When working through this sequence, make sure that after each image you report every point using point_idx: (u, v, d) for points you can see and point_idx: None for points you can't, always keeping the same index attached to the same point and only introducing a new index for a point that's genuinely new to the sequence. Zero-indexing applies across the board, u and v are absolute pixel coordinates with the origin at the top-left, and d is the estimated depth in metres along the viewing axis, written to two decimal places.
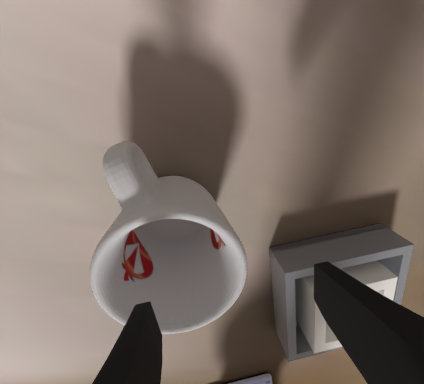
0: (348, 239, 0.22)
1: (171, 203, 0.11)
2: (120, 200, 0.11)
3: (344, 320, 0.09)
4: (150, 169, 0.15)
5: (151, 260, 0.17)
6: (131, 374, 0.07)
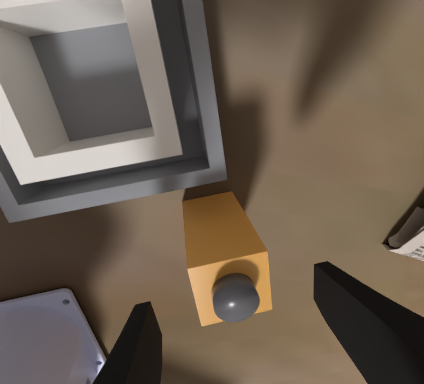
0: None
1: None
2: None
3: (344, 319, 0.09)
4: None
5: None
6: (131, 374, 0.07)
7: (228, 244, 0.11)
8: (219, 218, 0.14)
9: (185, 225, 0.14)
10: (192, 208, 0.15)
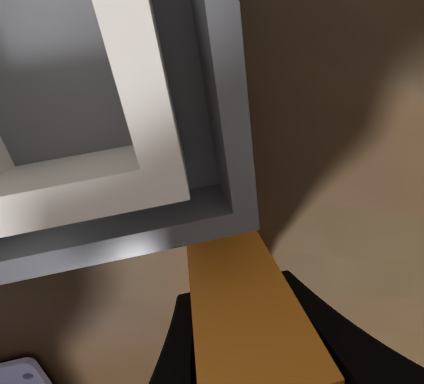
0: None
1: None
2: None
3: None
4: None
5: None
6: (191, 359, 0.07)
7: (268, 349, 0.07)
8: (244, 283, 0.09)
9: (192, 294, 0.09)
10: (201, 258, 0.11)
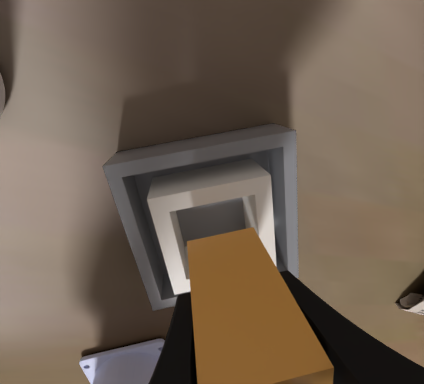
0: (219, 136, 0.16)
1: None
2: None
3: None
4: None
5: None
6: (191, 359, 0.07)
7: (263, 340, 0.07)
8: (242, 280, 0.09)
9: (192, 290, 0.09)
10: (201, 256, 0.11)
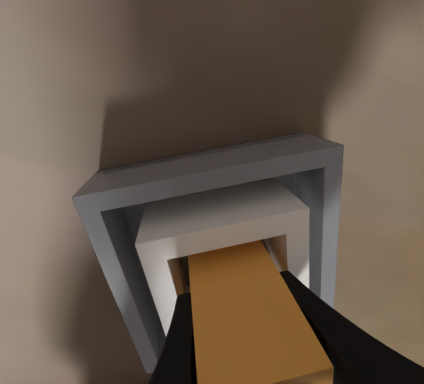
0: (234, 151, 0.12)
1: None
2: None
3: None
4: None
5: None
6: (191, 359, 0.07)
7: (263, 340, 0.07)
8: (242, 280, 0.09)
9: (192, 290, 0.09)
10: (201, 256, 0.11)
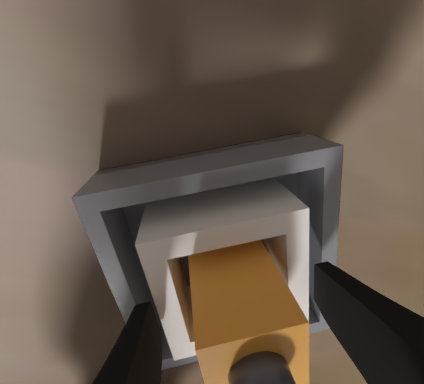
0: (234, 151, 0.12)
1: None
2: None
3: (344, 319, 0.09)
4: None
5: None
6: (131, 374, 0.07)
7: (250, 304, 0.08)
8: (234, 258, 0.11)
9: (190, 267, 0.10)
10: None
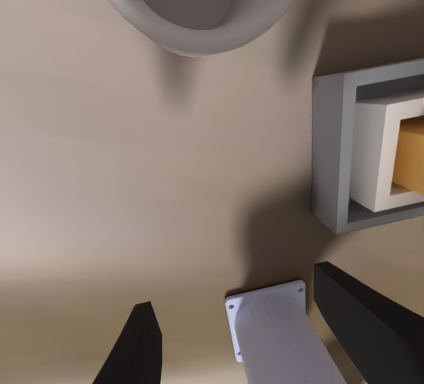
0: (419, 58, 0.16)
1: None
2: None
3: (344, 319, 0.09)
4: None
5: None
6: (131, 374, 0.07)
7: None
8: None
9: (406, 131, 0.15)
10: None
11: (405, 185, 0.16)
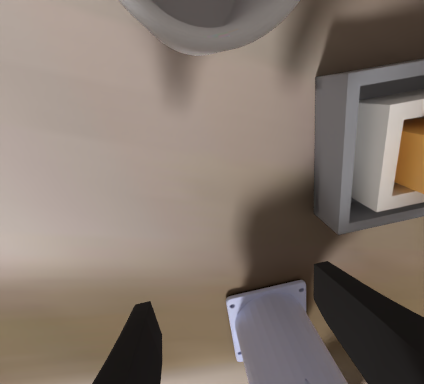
0: (422, 59, 0.16)
1: None
2: None
3: (344, 319, 0.09)
4: None
5: None
6: (131, 374, 0.07)
7: None
8: None
9: (409, 132, 0.15)
10: None
11: (408, 186, 0.16)
